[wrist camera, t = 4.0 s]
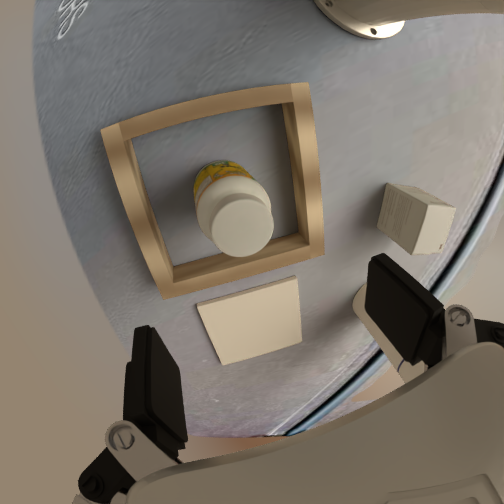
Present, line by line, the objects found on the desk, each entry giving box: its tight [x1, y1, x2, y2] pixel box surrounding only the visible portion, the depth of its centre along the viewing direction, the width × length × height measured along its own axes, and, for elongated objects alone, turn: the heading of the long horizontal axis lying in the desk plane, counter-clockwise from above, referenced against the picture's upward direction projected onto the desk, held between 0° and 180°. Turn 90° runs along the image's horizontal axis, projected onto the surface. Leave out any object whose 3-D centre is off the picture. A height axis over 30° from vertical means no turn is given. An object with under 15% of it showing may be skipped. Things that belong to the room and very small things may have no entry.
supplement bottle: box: [193, 160, 274, 257], centre depth 21 cm, size 5×5×10 cm
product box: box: [377, 183, 456, 255], centre depth 28 cm, size 6×6×7 cm
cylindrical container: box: [352, 283, 424, 384], centre depth 27 cm, size 7×7×25 cm
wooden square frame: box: [100, 82, 325, 300], centre depth 24 cm, size 17×17×3 cm
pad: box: [197, 276, 302, 365], centre depth 34 cm, size 12×12×1 cm
